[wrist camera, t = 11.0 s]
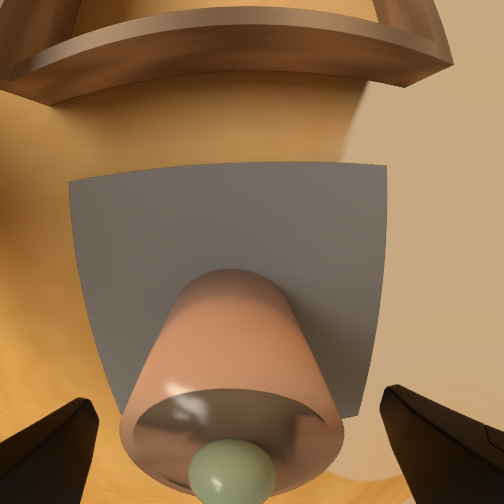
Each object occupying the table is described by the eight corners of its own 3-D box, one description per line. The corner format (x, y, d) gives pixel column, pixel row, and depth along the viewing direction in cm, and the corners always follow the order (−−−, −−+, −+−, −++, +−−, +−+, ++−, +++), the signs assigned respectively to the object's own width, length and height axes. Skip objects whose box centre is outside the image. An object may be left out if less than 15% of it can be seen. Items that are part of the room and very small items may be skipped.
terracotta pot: (179, 377, 13) (146, 533, 4) (162, 271, 12) (55, 417, 3) (291, 372, 13) (338, 527, 5) (294, 265, 12) (398, 410, 3)
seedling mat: (128, 420, 14) (126, 426, 14) (74, 181, 11) (68, 181, 10) (355, 410, 15) (357, 415, 14) (381, 166, 12) (386, 165, 11)
